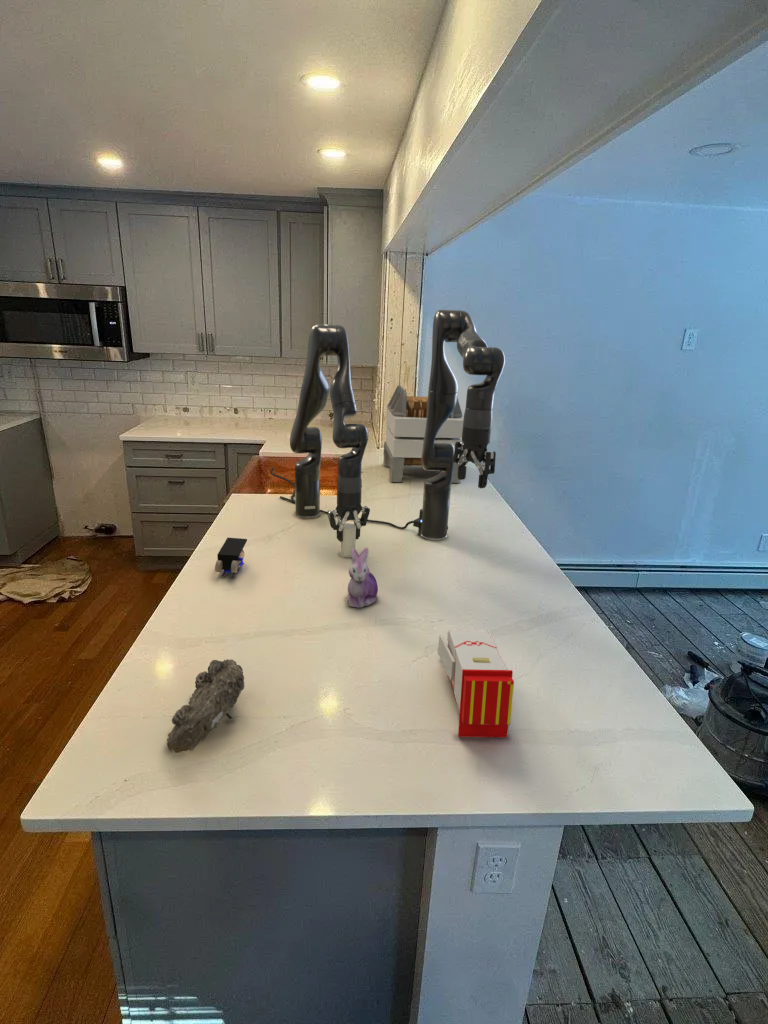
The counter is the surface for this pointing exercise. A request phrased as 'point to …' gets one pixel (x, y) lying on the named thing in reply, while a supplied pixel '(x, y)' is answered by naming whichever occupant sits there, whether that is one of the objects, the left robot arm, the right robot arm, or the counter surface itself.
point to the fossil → (206, 705)
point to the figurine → (361, 581)
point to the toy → (478, 682)
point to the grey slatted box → (414, 432)
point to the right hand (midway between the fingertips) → (471, 483)
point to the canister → (348, 540)
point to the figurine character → (230, 556)
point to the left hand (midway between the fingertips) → (348, 539)
